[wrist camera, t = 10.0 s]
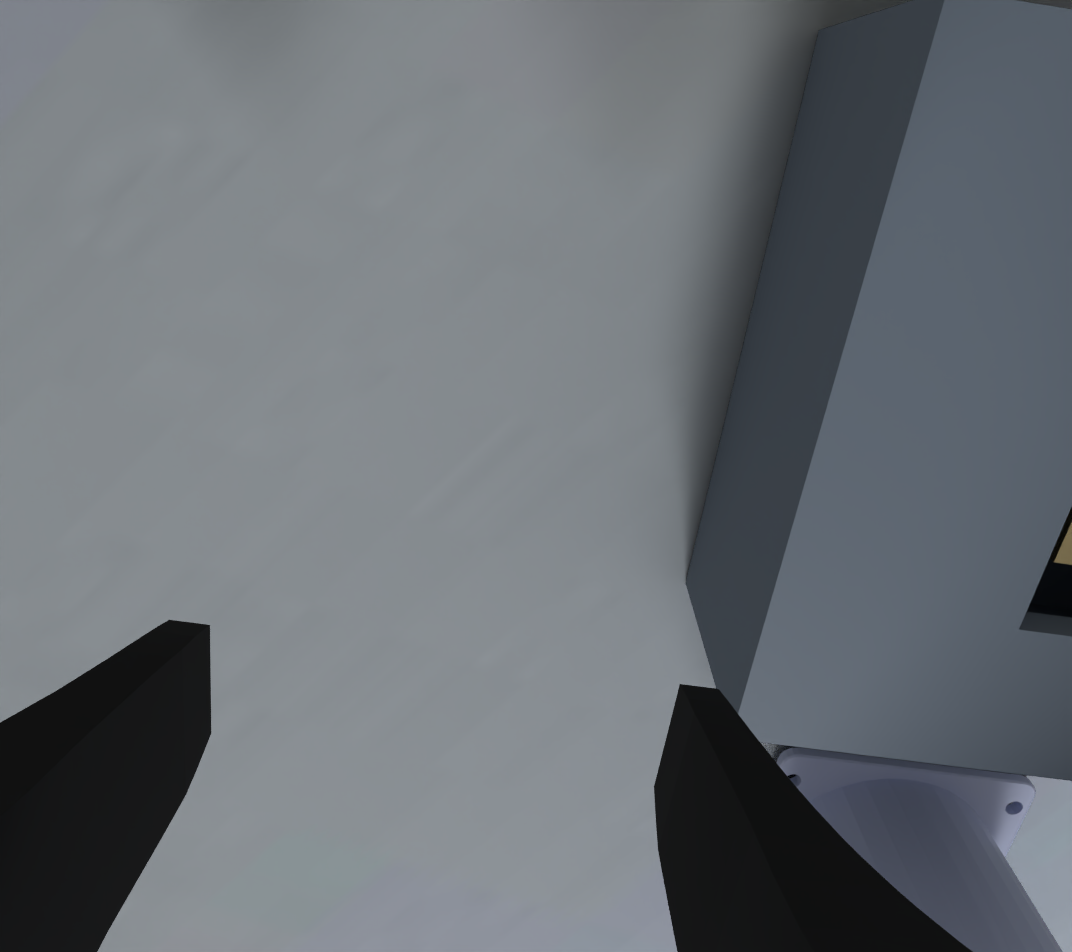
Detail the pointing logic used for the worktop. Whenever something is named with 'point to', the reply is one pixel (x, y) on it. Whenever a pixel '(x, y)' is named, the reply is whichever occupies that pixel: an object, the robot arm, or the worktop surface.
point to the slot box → (908, 406)
